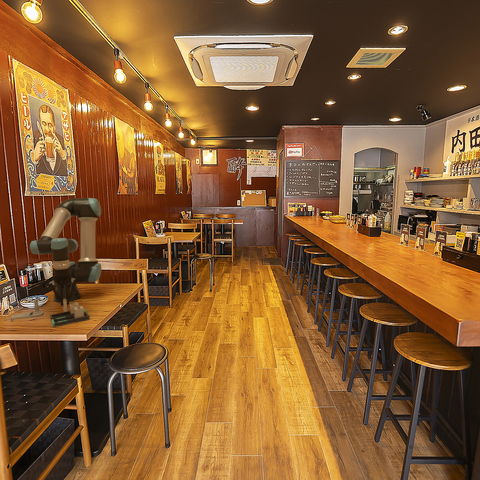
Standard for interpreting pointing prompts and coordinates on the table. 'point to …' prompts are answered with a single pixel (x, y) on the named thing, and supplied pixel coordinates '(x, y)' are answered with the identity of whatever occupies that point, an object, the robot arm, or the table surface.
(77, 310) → the beige handled cube
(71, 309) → the beige rectangular block
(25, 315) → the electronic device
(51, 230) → the robot arm
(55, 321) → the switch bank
